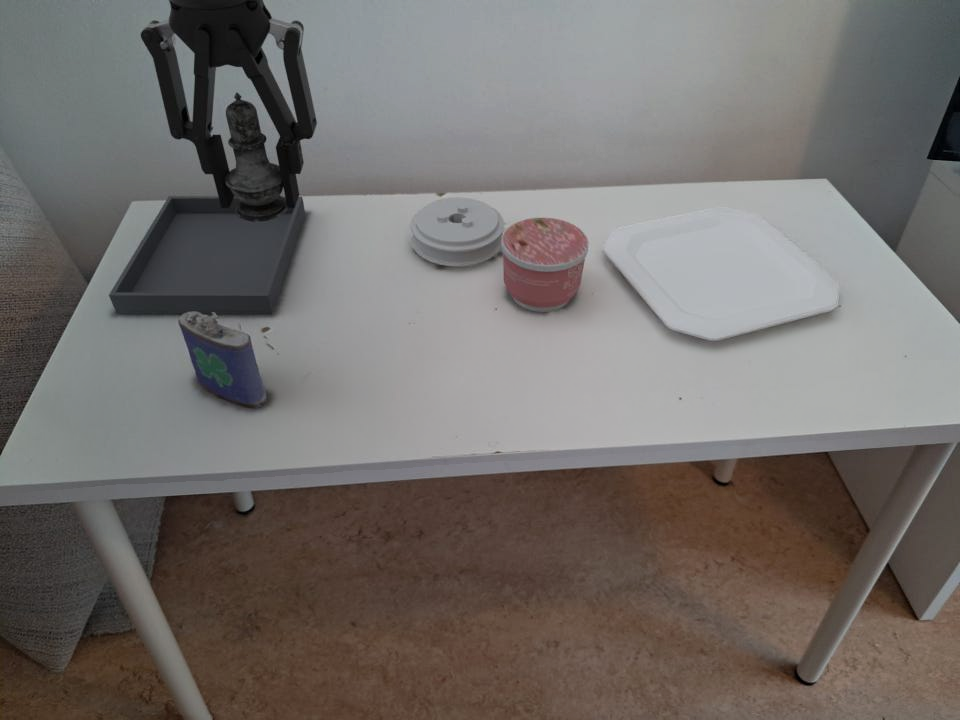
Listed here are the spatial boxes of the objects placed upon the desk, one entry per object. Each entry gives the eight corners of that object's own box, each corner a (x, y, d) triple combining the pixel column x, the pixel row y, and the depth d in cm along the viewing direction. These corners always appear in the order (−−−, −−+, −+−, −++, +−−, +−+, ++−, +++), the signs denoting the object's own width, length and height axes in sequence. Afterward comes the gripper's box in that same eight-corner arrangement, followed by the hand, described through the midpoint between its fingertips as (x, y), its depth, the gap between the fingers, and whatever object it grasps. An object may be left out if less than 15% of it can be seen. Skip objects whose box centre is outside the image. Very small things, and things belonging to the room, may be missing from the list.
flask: (272, 397, 79) (251, 321, 72) (253, 414, 77) (230, 338, 70) (209, 368, 83) (183, 293, 75) (190, 384, 81) (161, 309, 73)
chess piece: (223, 220, 73) (192, 103, 65) (245, 191, 77) (219, 78, 69) (279, 225, 72) (255, 108, 64) (299, 195, 76) (279, 82, 68)
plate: (856, 313, 90) (863, 299, 89) (683, 359, 84) (686, 345, 82) (739, 213, 107) (743, 200, 106) (587, 245, 101) (589, 231, 100)
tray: (272, 314, 90) (267, 295, 88) (116, 313, 90) (108, 295, 88) (305, 213, 107) (302, 196, 105) (174, 213, 107) (168, 195, 105)
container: (561, 262, 98) (565, 210, 93) (596, 308, 91) (604, 255, 85) (488, 278, 95) (488, 226, 90) (518, 327, 88) (521, 273, 83)
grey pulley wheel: (393, 242, 101) (390, 211, 98) (463, 211, 107) (463, 180, 104) (451, 284, 94) (450, 251, 91) (522, 248, 100) (523, 216, 97)
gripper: (328, -66, 61) (358, 182, 77) (102, -67, 61) (178, 182, 77) (315, -42, 56) (349, 220, 71) (66, -43, 56) (156, 221, 71)
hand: (260, 200), depth 74 cm, fingers closed on chess piece, 6 cm apart
